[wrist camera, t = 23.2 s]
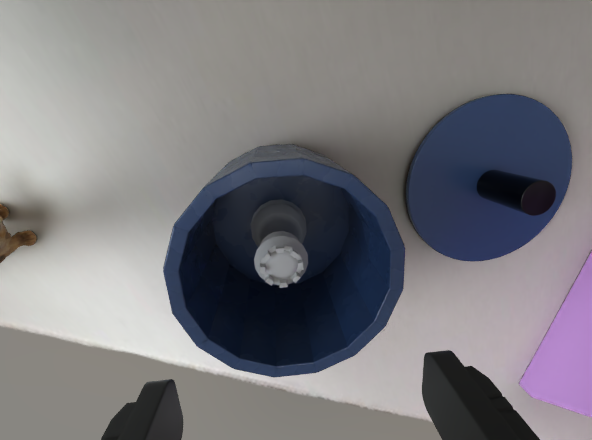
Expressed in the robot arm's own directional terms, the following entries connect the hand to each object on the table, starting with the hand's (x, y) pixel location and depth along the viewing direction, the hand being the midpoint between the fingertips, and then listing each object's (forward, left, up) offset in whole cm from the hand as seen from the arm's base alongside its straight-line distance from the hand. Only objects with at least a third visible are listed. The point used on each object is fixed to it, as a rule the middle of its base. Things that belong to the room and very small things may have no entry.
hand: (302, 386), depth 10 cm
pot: (0, 0, -17) cm, 17 cm away
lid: (-17, -2, -16) cm, 24 cm away
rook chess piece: (0, 0, -17) cm, 17 cm away
